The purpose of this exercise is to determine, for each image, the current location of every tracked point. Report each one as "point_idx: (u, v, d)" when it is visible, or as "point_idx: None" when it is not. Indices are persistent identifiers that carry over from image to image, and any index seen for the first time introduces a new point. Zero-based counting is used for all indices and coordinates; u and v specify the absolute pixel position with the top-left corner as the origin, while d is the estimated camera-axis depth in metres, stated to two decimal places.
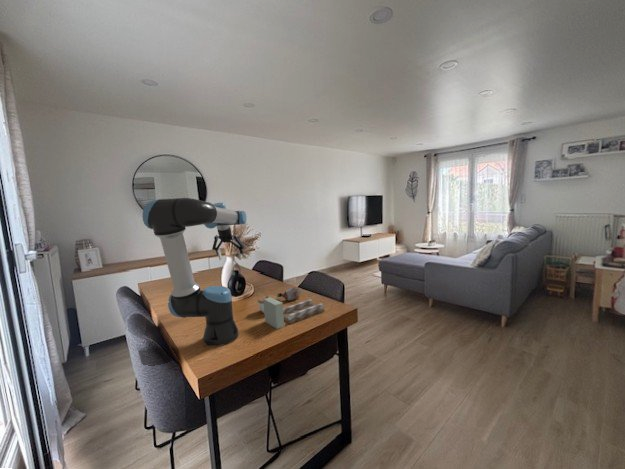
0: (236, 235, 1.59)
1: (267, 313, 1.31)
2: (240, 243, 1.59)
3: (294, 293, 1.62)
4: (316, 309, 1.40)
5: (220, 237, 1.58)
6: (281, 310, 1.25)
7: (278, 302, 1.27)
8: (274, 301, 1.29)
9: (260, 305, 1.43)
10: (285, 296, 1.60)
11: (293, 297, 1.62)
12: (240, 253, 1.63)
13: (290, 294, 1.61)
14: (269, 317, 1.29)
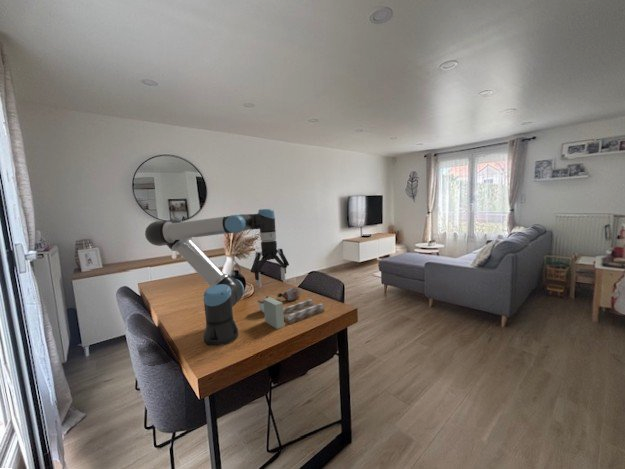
0: (256, 253, 1.22)
1: (266, 313, 1.31)
2: (253, 264, 1.23)
3: (294, 293, 1.62)
4: (316, 309, 1.40)
5: None
6: (281, 310, 1.25)
7: (278, 302, 1.26)
8: (274, 301, 1.29)
9: (260, 305, 1.43)
10: (285, 296, 1.60)
11: (293, 297, 1.62)
12: None
13: (290, 294, 1.60)
14: (269, 317, 1.29)
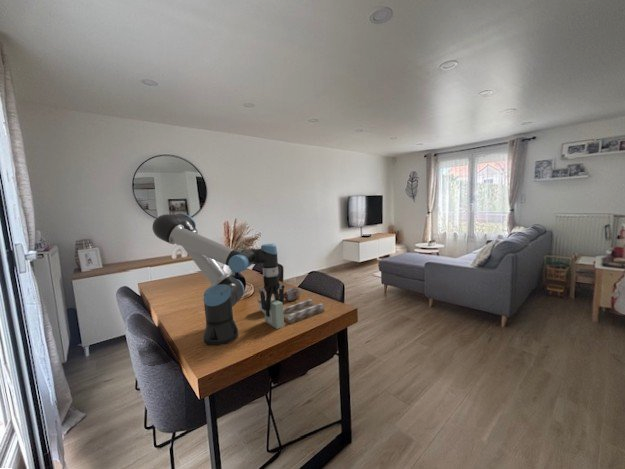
0: (260, 292, 1.24)
1: None
2: (261, 302, 1.26)
3: (294, 293, 1.62)
4: (316, 309, 1.40)
5: None
6: (281, 310, 1.26)
7: (278, 302, 1.27)
8: (274, 301, 1.29)
9: (260, 305, 1.43)
10: (285, 296, 1.60)
11: (293, 297, 1.61)
12: None
13: (290, 294, 1.60)
14: None
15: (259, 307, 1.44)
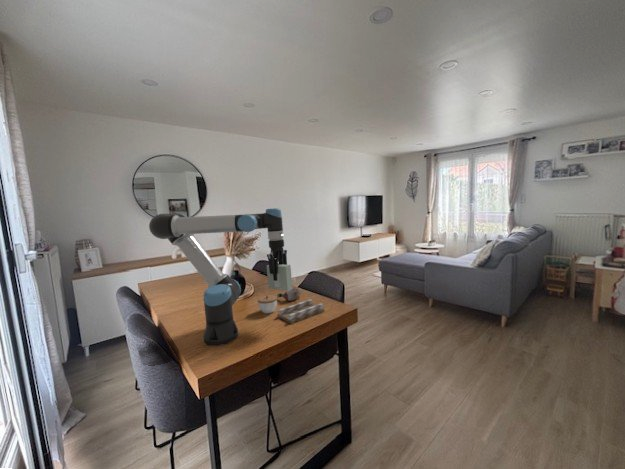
0: (269, 256, 1.24)
1: (271, 279, 1.31)
2: (269, 266, 1.25)
3: (294, 293, 1.62)
4: (316, 309, 1.40)
5: None
6: (289, 272, 1.28)
7: (285, 265, 1.29)
8: (280, 265, 1.30)
9: (260, 305, 1.43)
10: (285, 296, 1.60)
11: (293, 297, 1.61)
12: None
13: (290, 294, 1.60)
14: None
15: (259, 307, 1.44)
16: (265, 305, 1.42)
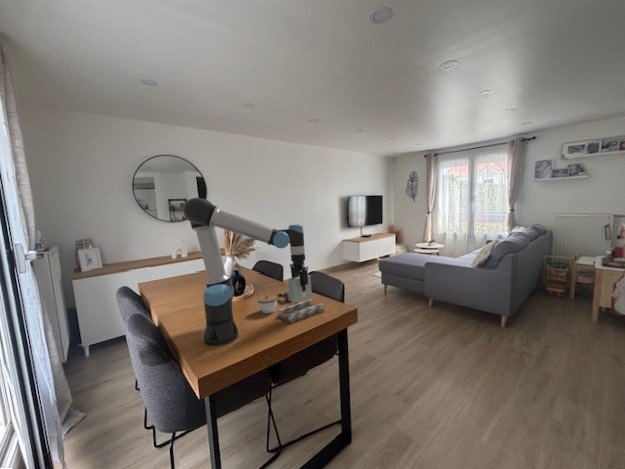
0: (306, 268, 1.33)
1: (297, 292, 1.36)
2: (304, 278, 1.34)
3: None
4: (316, 309, 1.40)
5: (293, 263, 1.40)
6: None
7: None
8: None
9: (260, 305, 1.43)
10: (286, 296, 1.59)
11: None
12: (302, 290, 1.37)
13: None
14: None
15: (259, 307, 1.44)
16: (265, 305, 1.42)
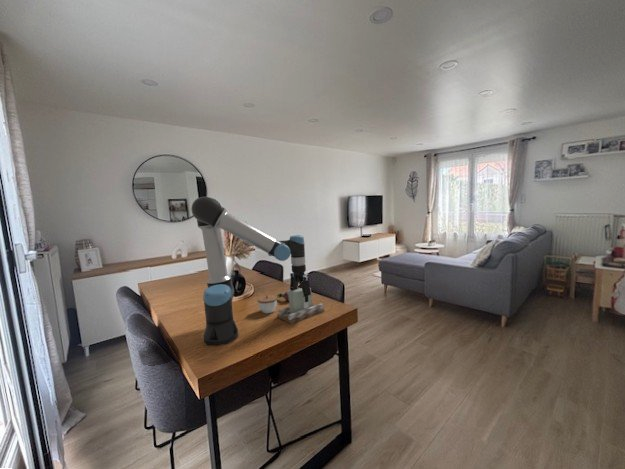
0: (307, 278, 1.34)
1: (298, 304, 1.37)
2: (306, 288, 1.33)
3: None
4: (316, 309, 1.40)
5: (294, 274, 1.40)
6: None
7: None
8: (300, 289, 1.40)
9: (260, 305, 1.43)
10: (286, 296, 1.59)
11: None
12: None
13: None
14: (302, 305, 1.39)
15: (259, 307, 1.44)
16: (265, 305, 1.42)
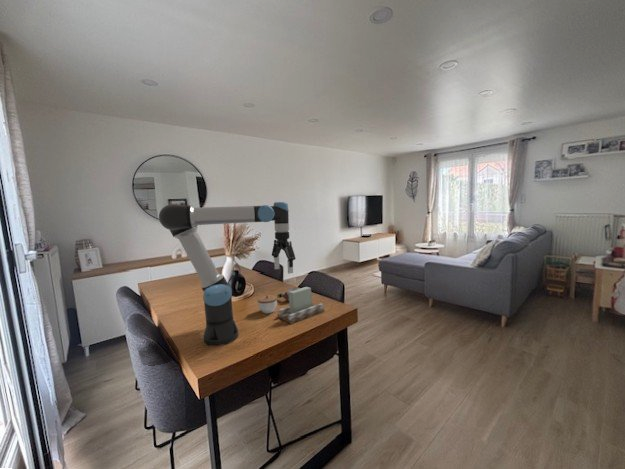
0: (289, 242, 1.32)
1: (298, 304, 1.37)
2: (290, 252, 1.30)
3: None
4: (316, 309, 1.40)
5: (277, 241, 1.39)
6: None
7: (305, 287, 1.43)
8: (300, 289, 1.40)
9: (260, 305, 1.43)
10: (286, 297, 1.59)
11: None
12: (289, 266, 1.32)
13: None
14: (302, 305, 1.39)
15: (259, 307, 1.44)
16: (265, 305, 1.42)
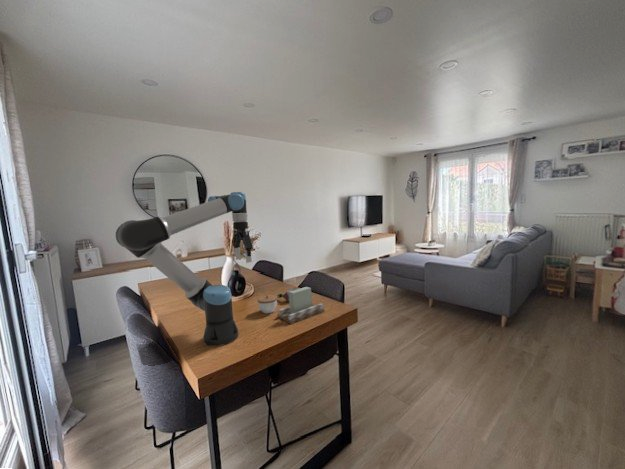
0: (246, 231, 1.33)
1: (298, 304, 1.37)
2: (247, 242, 1.31)
3: None
4: (316, 309, 1.40)
5: (236, 232, 1.40)
6: None
7: (305, 287, 1.43)
8: (300, 289, 1.40)
9: (260, 305, 1.43)
10: (286, 297, 1.59)
11: None
12: (247, 255, 1.33)
13: None
14: (302, 305, 1.39)
15: (259, 307, 1.44)
16: (265, 305, 1.42)
